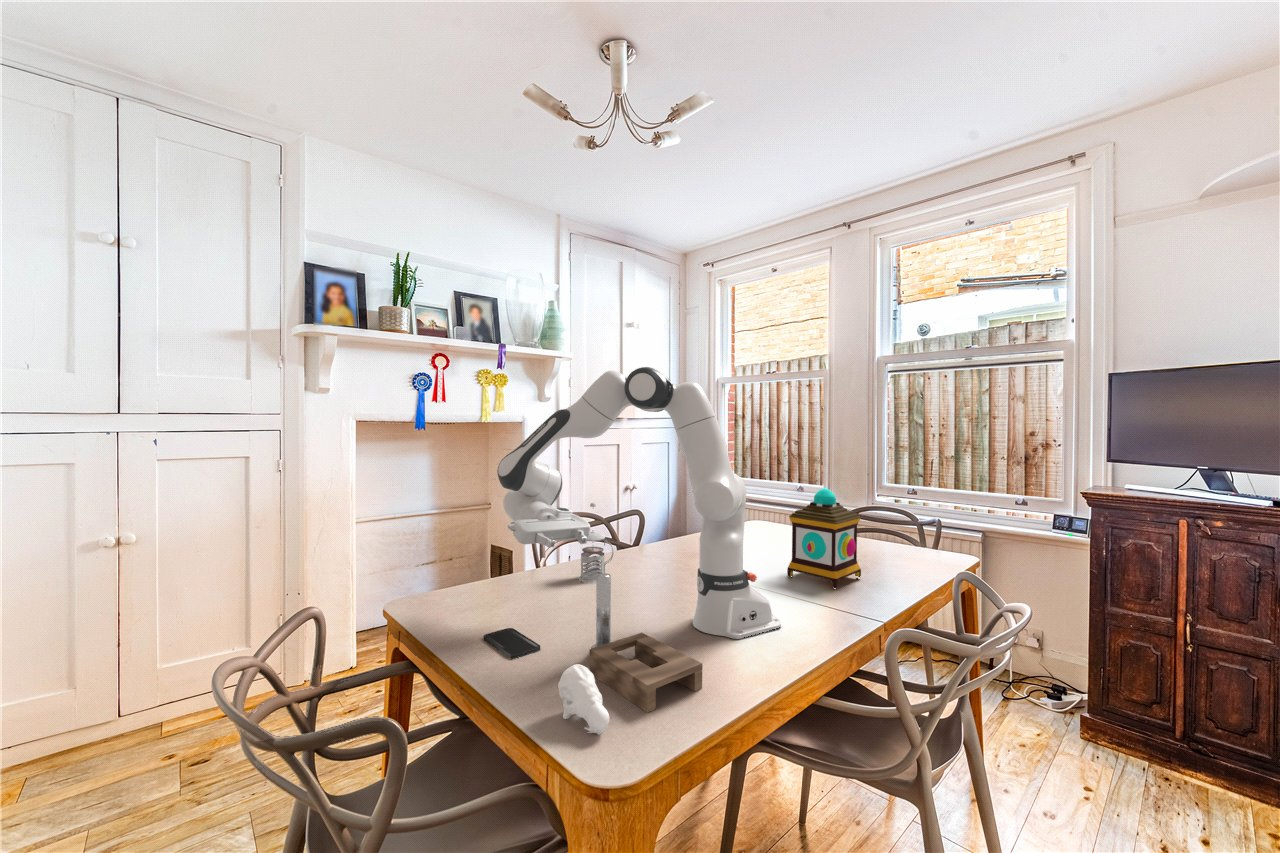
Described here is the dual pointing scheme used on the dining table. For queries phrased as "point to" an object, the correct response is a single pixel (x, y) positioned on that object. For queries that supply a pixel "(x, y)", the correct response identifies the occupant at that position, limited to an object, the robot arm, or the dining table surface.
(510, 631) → the phone
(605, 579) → the steel peg
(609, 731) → the dining table surface
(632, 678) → the keyhole board
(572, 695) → the white lumpy figurine
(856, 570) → the decorative lantern
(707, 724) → the dining table surface
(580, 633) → the dining table surface
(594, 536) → the french press
